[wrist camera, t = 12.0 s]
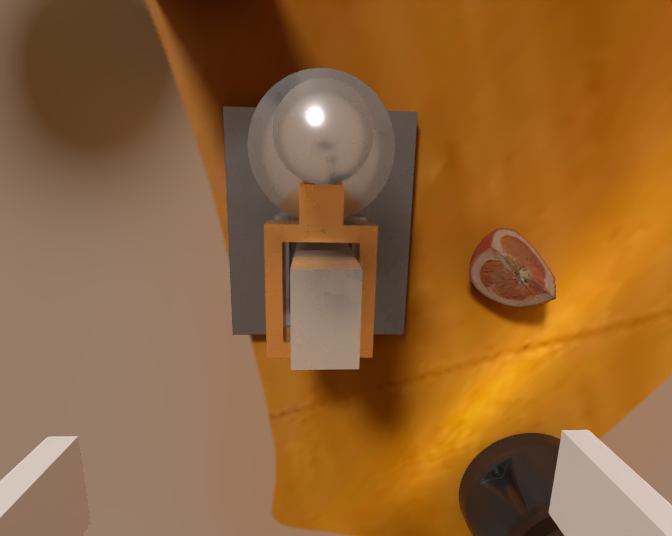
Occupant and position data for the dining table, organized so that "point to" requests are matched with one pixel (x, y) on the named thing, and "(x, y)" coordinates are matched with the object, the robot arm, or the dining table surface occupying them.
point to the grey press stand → (318, 198)
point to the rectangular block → (325, 307)
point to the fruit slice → (511, 270)
